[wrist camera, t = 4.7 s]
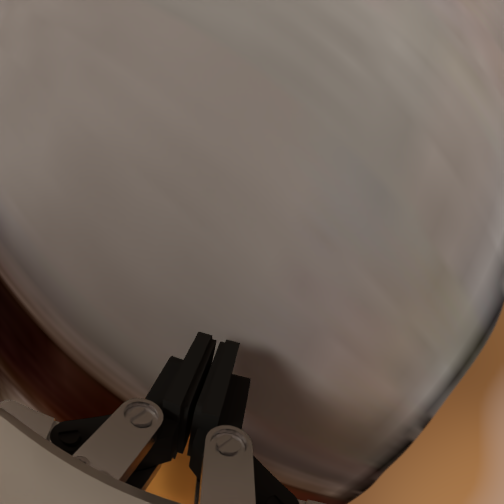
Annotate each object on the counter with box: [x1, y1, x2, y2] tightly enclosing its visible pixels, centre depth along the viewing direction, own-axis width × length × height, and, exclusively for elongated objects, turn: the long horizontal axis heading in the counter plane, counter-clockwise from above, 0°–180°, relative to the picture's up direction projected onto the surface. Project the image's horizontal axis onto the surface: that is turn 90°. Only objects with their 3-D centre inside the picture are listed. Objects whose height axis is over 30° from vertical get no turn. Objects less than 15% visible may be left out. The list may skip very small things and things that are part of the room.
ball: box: [145, 436, 196, 504], centre depth 12 cm, size 6×6×6 cm
